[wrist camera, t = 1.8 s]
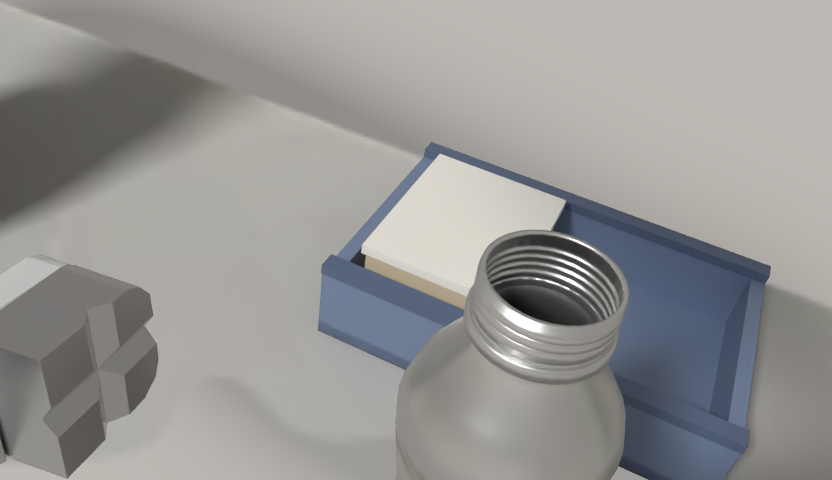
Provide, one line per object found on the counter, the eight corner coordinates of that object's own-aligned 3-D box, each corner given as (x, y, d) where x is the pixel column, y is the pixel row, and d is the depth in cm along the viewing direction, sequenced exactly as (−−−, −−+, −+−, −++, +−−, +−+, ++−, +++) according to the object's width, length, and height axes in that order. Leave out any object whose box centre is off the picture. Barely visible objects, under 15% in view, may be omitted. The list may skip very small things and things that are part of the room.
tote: (317, 331, 42) (321, 264, 39) (421, 203, 53) (431, 142, 50) (704, 506, 37) (747, 446, 34) (735, 325, 47) (770, 266, 44)
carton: (354, 310, 43) (362, 244, 40) (428, 215, 51) (439, 153, 47) (490, 370, 41) (510, 305, 38) (546, 261, 48) (566, 200, 45)
